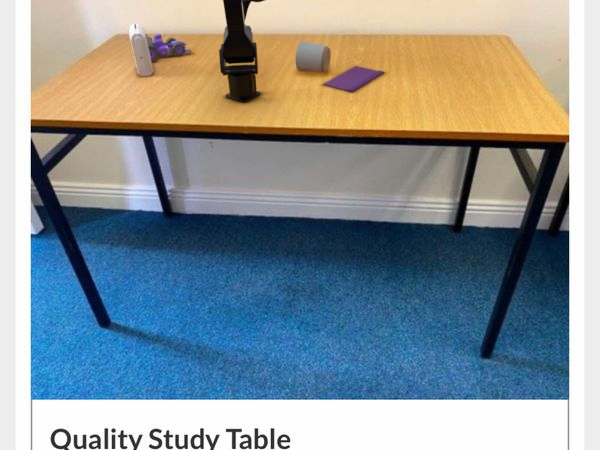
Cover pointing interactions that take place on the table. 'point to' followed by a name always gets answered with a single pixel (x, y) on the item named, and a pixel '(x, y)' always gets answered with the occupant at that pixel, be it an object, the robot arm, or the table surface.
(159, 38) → the toy race car
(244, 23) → the robot arm
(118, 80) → the table surface
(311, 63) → the ceramic mug
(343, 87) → the cloth
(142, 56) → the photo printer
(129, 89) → the table surface
